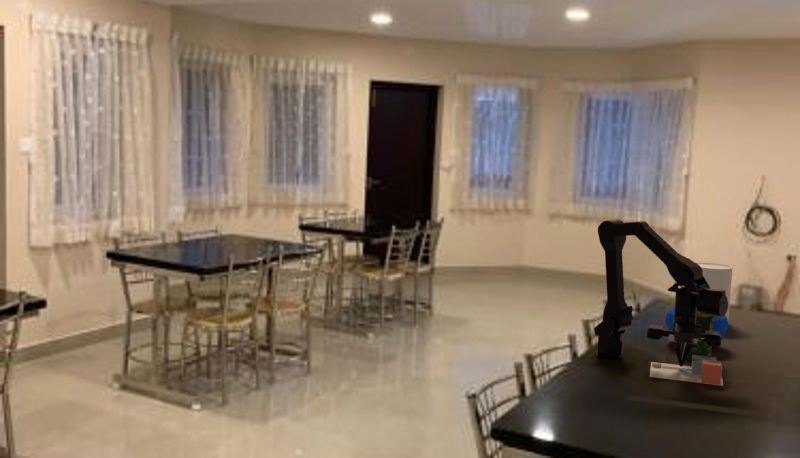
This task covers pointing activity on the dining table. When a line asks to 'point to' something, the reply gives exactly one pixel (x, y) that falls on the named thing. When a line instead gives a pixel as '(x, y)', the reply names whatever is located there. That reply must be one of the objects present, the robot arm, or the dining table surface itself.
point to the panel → (676, 372)
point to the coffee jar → (707, 325)
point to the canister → (718, 278)
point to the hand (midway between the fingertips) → (681, 366)
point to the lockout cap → (711, 372)
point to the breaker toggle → (699, 363)
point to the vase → (718, 326)
